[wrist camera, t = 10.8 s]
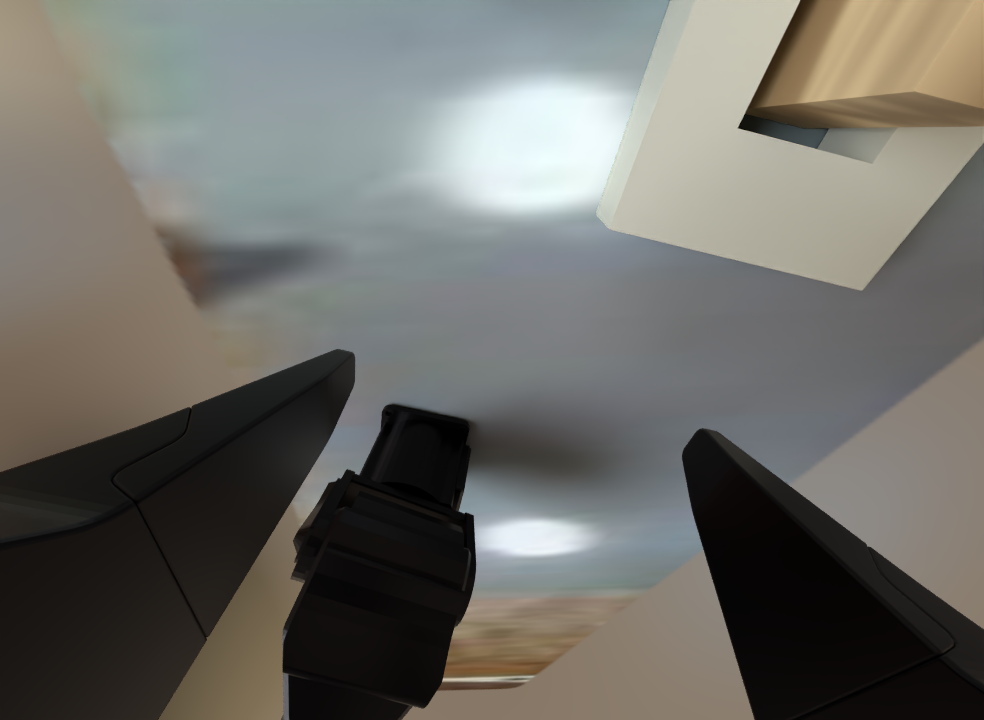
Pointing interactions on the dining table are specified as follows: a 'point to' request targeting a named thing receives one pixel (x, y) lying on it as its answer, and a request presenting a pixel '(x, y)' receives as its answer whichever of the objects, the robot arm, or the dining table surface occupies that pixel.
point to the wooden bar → (877, 65)
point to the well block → (764, 159)
